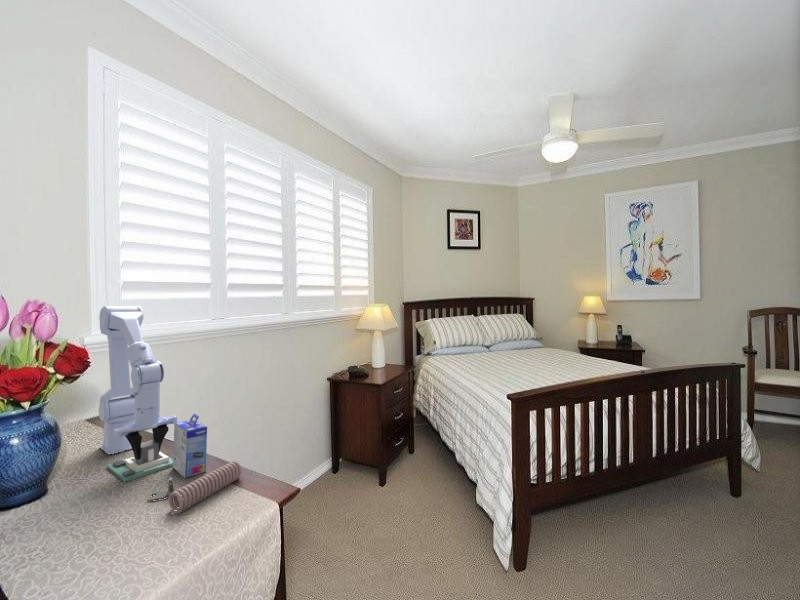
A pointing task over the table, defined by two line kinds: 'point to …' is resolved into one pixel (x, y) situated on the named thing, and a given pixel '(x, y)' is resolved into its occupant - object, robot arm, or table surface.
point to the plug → (148, 452)
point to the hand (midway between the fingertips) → (146, 455)
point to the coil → (204, 486)
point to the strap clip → (163, 492)
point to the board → (138, 467)
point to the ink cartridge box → (190, 447)
